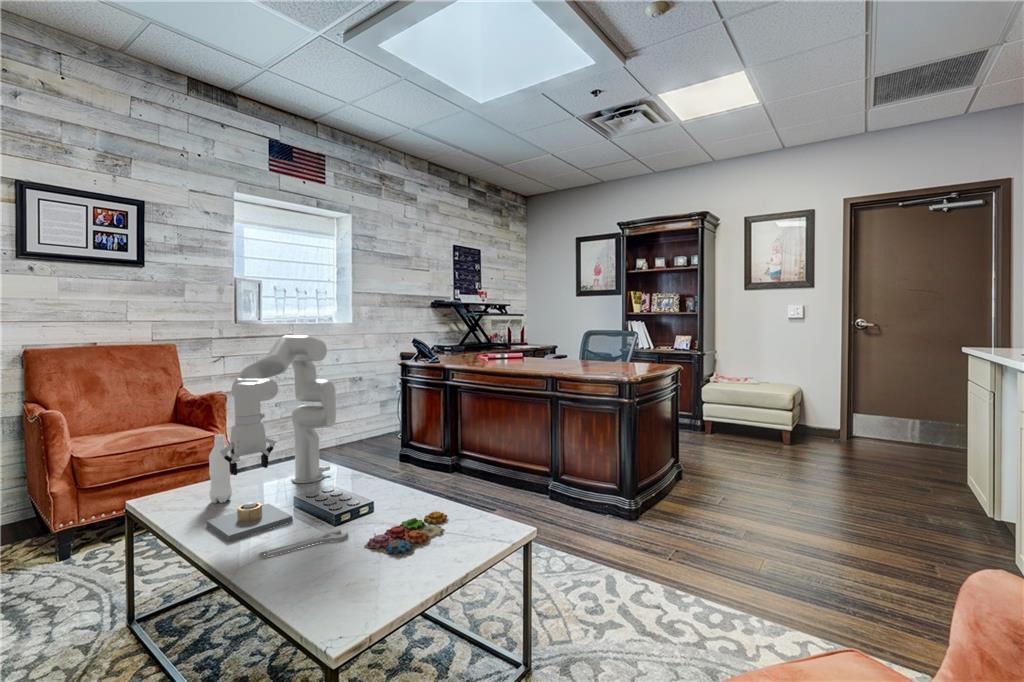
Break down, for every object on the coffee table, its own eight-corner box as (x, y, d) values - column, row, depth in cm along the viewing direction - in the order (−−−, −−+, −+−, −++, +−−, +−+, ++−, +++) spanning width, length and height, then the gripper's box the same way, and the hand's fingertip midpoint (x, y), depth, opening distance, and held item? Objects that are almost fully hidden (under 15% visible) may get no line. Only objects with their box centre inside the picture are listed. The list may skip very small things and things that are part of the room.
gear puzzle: (426, 513, 178) (426, 502, 178) (464, 522, 170) (464, 511, 170) (361, 549, 151) (361, 535, 151) (403, 561, 143) (403, 547, 143)
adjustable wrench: (259, 561, 143) (259, 555, 143) (257, 552, 148) (256, 547, 148) (349, 540, 157) (348, 534, 156) (343, 532, 162) (343, 527, 162)
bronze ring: (256, 512, 172) (255, 501, 172) (265, 517, 168) (264, 505, 168) (234, 518, 167) (234, 506, 167) (243, 524, 163) (243, 511, 163)
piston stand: (268, 508, 181) (267, 489, 181) (292, 521, 169) (292, 501, 169) (206, 526, 166) (206, 505, 165) (228, 542, 154) (228, 519, 154)
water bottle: (211, 499, 190) (209, 434, 189) (232, 496, 193) (231, 432, 192) (208, 506, 184) (206, 438, 182) (231, 503, 187) (229, 436, 185)
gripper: (269, 414, 175) (270, 462, 176) (214, 422, 162) (216, 474, 163) (279, 417, 170) (280, 466, 171) (224, 426, 157) (226, 479, 158)
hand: (249, 470), depth 167 cm, fingers open, 9 cm apart
